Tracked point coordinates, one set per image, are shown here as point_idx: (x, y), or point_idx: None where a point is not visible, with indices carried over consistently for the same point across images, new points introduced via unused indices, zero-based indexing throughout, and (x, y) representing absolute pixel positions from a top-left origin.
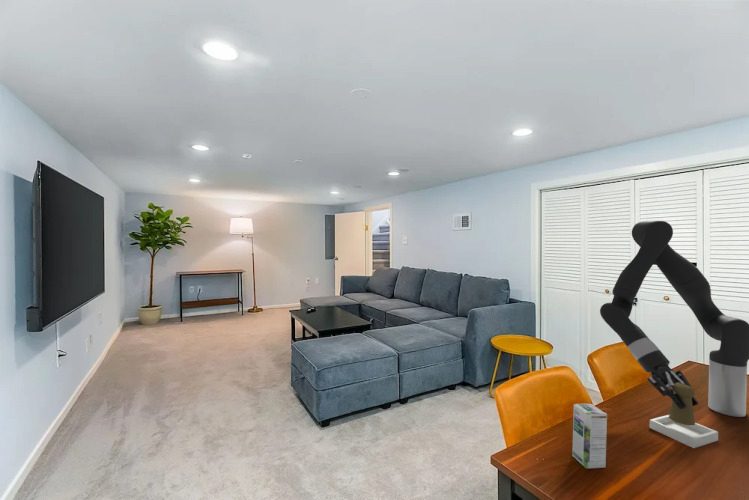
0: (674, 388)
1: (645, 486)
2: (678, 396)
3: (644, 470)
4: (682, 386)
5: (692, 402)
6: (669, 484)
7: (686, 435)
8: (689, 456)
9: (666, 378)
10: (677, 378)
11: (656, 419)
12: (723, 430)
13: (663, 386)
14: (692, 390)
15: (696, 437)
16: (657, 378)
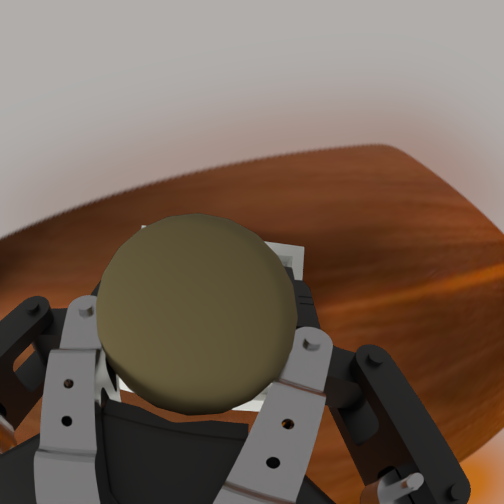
0: (283, 364)
1: (500, 244)
2: (299, 311)
3: (481, 268)
4: (253, 292)
5: None
6: (475, 225)
7: (297, 274)
8: (358, 243)
9: (296, 487)
10: (78, 414)
11: (257, 402)
12: (56, 255)
13: (417, 397)
14: (201, 214)
15: (279, 247)
16: (443, 474)
